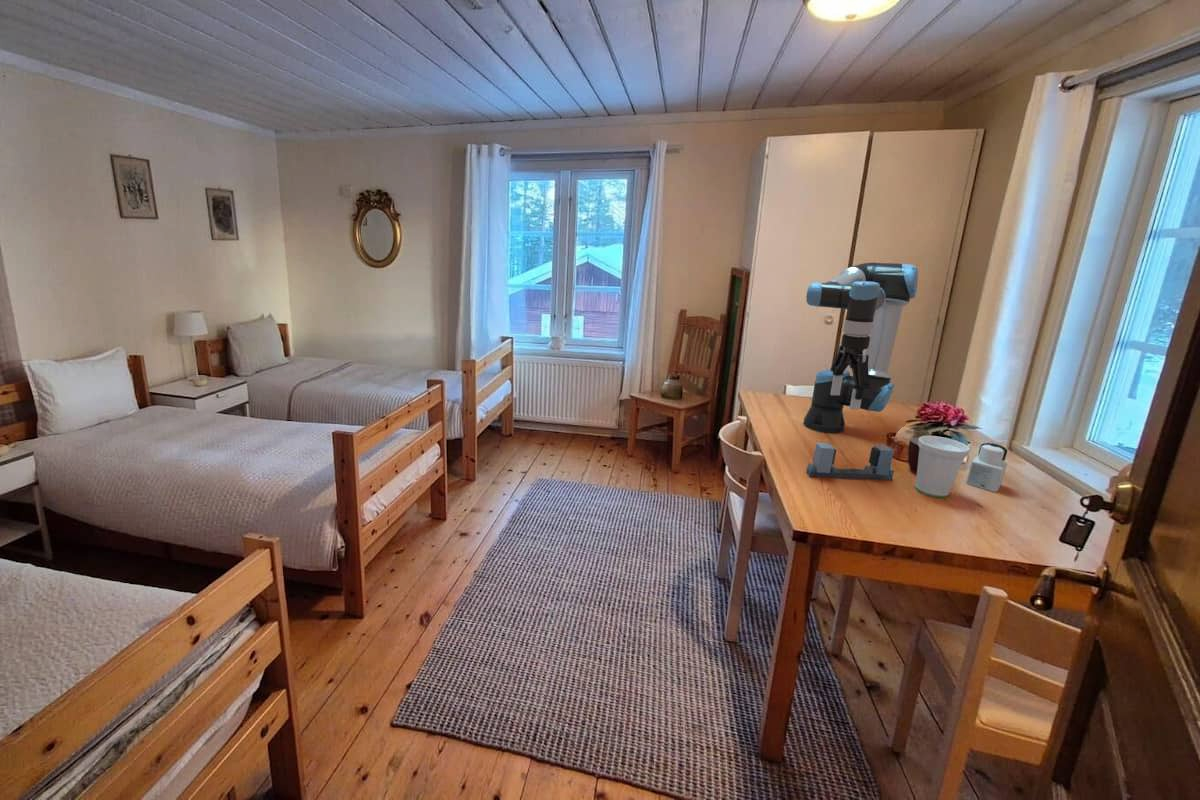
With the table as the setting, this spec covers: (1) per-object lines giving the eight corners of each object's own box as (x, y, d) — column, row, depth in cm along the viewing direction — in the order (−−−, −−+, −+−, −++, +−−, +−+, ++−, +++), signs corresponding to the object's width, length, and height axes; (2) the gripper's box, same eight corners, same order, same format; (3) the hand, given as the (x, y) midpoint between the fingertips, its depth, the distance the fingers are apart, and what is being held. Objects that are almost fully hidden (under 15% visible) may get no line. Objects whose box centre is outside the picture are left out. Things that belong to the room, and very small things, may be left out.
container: (971, 476, 161) (981, 438, 157) (1001, 485, 156) (1012, 446, 152) (965, 483, 156) (976, 444, 152) (996, 492, 150) (1008, 452, 147)
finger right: (812, 466, 158) (816, 443, 156) (827, 467, 158) (831, 443, 156) (817, 472, 155) (821, 448, 152) (832, 472, 155) (837, 448, 152)
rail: (805, 472, 159) (810, 442, 156) (885, 475, 159) (892, 446, 156) (810, 477, 155) (815, 447, 152) (892, 481, 155) (899, 451, 153)
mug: (936, 481, 156) (944, 452, 153) (907, 476, 159) (914, 447, 156) (929, 469, 166) (936, 440, 163) (901, 464, 168) (908, 436, 165)
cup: (912, 496, 146) (924, 447, 142) (903, 478, 157) (914, 433, 153) (962, 504, 142) (976, 454, 138) (949, 486, 153) (962, 439, 149)
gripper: (891, 343, 139) (876, 415, 146) (849, 327, 163) (838, 390, 169) (864, 343, 139) (850, 415, 146) (826, 326, 163) (816, 389, 169)
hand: (844, 401), depth 157 cm, fingers open, 13 cm apart
